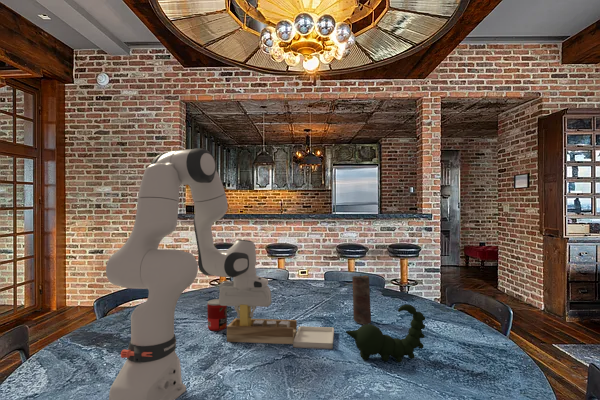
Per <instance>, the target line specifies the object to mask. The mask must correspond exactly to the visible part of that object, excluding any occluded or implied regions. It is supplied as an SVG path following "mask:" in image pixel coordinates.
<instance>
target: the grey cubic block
mask: <svg viewBox="0 0 600 400" xmlns="http://www.w3.org/2000/svg"><path fill="white" fill-rule="evenodd" d="M253 326H260V327H264V321H263V320H255V321H254V323H253Z"/></svg>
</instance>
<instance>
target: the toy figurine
mask: <svg viewBox="0 0 600 400" xmlns="http://www.w3.org/2000/svg"><path fill="white" fill-rule="evenodd" d="M402 311H406V312H408V313H409V314H411V315H412V319H411V321H410V327H409V329H408V333H407V334H406V335H405V338H402V339H400V338H393V337H392V336H390V335H389V334H385V333H383V332H382V330H381V329H380V328H379V327H378V326H376V325H374V324H371V323H369V324H366V325H363V324H362V325H361V326H359V327H358V328H357V329H356V330H346V331H345V333H346V334H347V335H348V336H349V337H351V338H352V339H353V340H354V343H355V345H356V347H357V349H358V351H359V355H360V358H361V359H363V361H367V360H369V359H370V357H371V356H374V355H375V356H376V355H379V356H381V360H382V361H383V362H388V361H389V360H390V357H391V358H394V359H395V361H396V362H397V363H399V364H400V363H403V358H404V357H405V356H407V357H408V359H410V360H414V358H416V356H415V353H414V351H415V349H417V348H419V349H423V348H424V344H423V343H422V342H421V339H425V337H426V336H425V334H424V333H423V329H425V328H426V326H425V324H424V322H423V321H425V320H426V317H425V316H424V314H423V313H422V311H421V312H420V311H417V310H416V307H415V306H413V305H410V304H402V305H401V306H399V308H398V309H397V312H398V313H400V312H402Z"/></svg>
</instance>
